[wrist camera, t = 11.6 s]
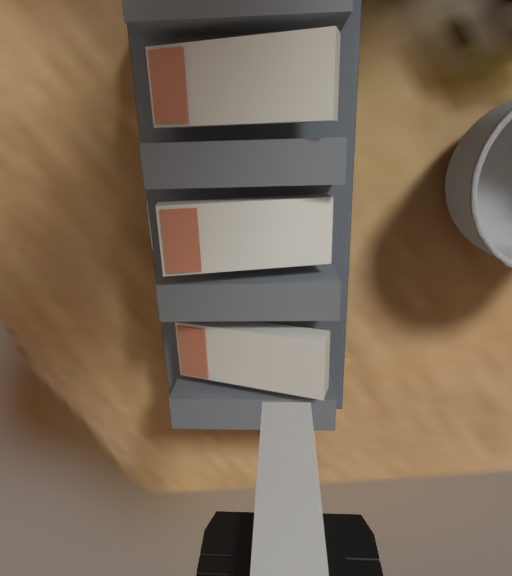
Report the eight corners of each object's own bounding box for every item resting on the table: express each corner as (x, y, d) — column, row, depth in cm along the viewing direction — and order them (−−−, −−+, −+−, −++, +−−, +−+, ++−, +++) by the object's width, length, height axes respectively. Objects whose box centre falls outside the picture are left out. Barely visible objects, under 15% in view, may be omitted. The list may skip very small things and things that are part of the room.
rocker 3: (186, 313, 29) (173, 323, 27) (330, 330, 26) (324, 343, 24) (191, 363, 30) (179, 375, 29) (328, 386, 27) (323, 401, 25)
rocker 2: (157, 202, 24) (155, 206, 22) (324, 193, 25) (334, 197, 24) (164, 268, 25) (163, 277, 24) (323, 256, 27) (332, 264, 25)
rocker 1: (160, 52, 23) (143, 46, 22) (340, 33, 20) (335, 25, 19) (167, 128, 25) (152, 127, 23) (337, 121, 22) (332, 120, 20)
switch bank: (145, 0, 27) (89, -57, 19) (348, -10, 27) (378, -74, 19) (182, 373, 37) (156, 438, 29) (333, 373, 36) (349, 440, 28)
